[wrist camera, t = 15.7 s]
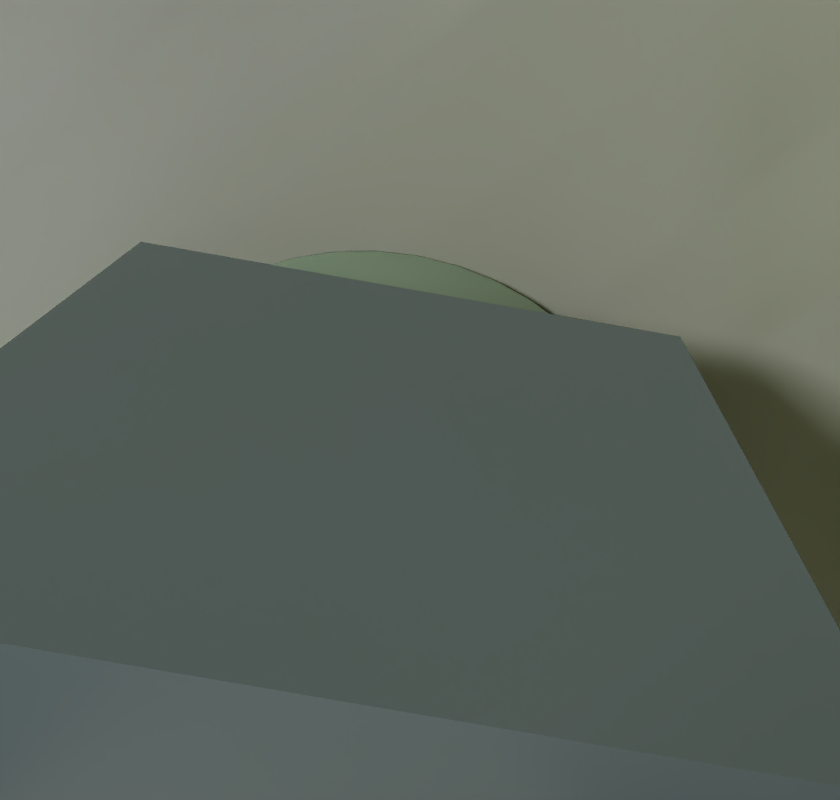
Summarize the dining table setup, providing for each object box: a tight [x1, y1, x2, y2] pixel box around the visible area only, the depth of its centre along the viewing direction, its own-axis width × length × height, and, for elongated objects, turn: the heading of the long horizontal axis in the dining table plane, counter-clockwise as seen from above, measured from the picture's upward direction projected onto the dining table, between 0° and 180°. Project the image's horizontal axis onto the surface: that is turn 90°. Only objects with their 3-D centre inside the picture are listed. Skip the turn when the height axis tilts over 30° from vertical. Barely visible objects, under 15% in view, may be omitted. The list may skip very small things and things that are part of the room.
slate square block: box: [0, 242, 840, 800], centre depth 12 cm, size 10×10×9 cm
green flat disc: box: [273, 251, 548, 314], centre depth 18 cm, size 14×14×1 cm
